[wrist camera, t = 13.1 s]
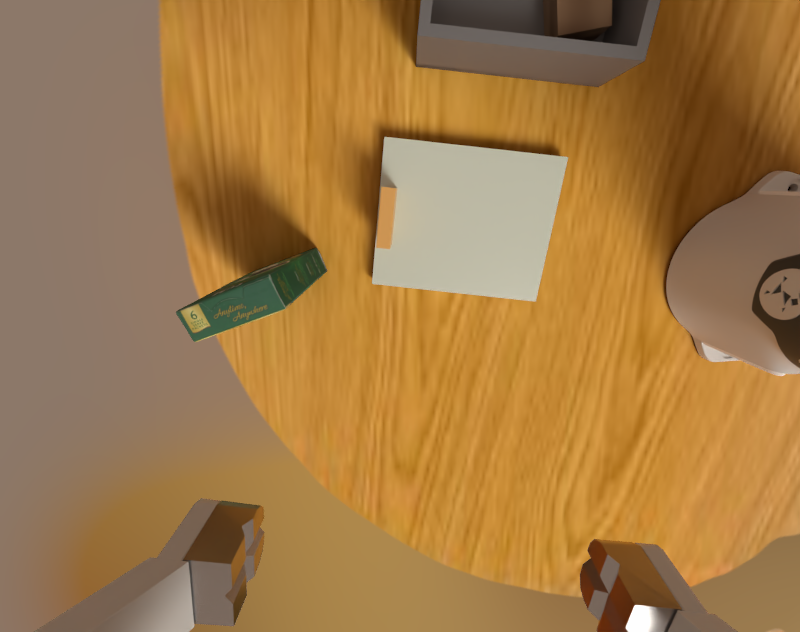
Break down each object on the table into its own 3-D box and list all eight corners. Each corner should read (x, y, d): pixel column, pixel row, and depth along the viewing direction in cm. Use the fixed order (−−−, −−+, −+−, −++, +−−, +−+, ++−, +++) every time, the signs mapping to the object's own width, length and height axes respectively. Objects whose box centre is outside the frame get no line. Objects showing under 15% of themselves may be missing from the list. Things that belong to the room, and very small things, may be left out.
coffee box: (259, 298, 40) (190, 346, 28) (246, 273, 39) (170, 310, 27) (328, 272, 39) (290, 310, 27) (317, 245, 38) (272, 271, 26)
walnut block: (593, -18, 30) (612, -40, 28) (593, 40, 32) (612, 25, 29) (542, -8, 31) (556, -28, 28) (544, 49, 32) (558, 35, 29)
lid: (560, 158, 36) (588, 152, 30) (530, 296, 40) (549, 313, 34) (385, 139, 36) (380, 129, 30) (373, 279, 40) (367, 294, 34)
